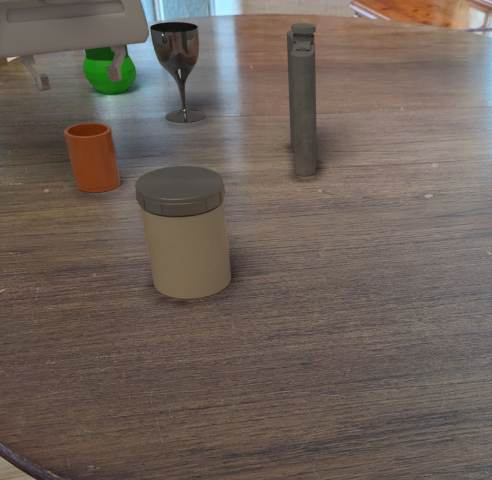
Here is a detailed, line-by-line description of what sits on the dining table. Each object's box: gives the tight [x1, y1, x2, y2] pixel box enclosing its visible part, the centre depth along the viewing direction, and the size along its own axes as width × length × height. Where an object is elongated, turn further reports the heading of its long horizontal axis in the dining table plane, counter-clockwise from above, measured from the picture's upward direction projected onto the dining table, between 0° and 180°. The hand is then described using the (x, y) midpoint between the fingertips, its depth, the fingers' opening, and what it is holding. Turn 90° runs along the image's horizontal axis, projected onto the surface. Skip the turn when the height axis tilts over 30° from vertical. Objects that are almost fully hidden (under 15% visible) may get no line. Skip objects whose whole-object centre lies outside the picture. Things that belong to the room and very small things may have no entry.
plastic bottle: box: [82, 45, 137, 95], centre depth 135 cm, size 10×10×25 cm
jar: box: [139, 199, 232, 300], centre depth 82 cm, size 9×9×12 cm
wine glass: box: [149, 21, 206, 123], centre depth 128 cm, size 8×8×15 cm
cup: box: [63, 122, 122, 193], centre depth 104 cm, size 6×6×8 cm
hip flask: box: [286, 22, 318, 177], centre depth 112 cm, size 16×4×20 cm, turn 9°
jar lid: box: [134, 165, 226, 216], centre depth 79 cm, size 9×9×2 cm
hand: (80, 84), depth 98 cm, fingers open, 8 cm apart
